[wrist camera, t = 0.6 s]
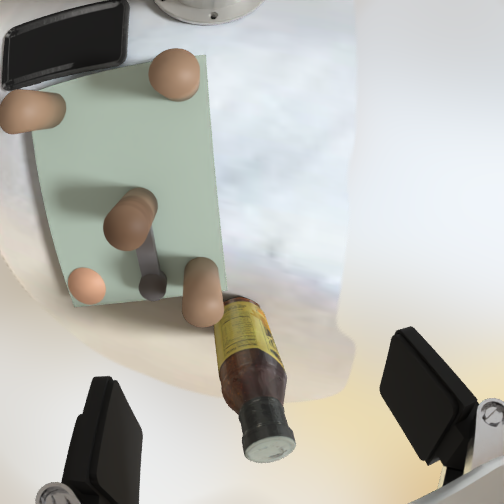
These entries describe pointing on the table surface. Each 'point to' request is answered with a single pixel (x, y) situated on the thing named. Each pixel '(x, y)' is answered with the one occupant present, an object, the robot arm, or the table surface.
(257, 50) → the table surface
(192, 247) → the stool seat
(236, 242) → the table surface
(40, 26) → the phone
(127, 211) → the folding leg
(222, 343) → the sauce bottle
